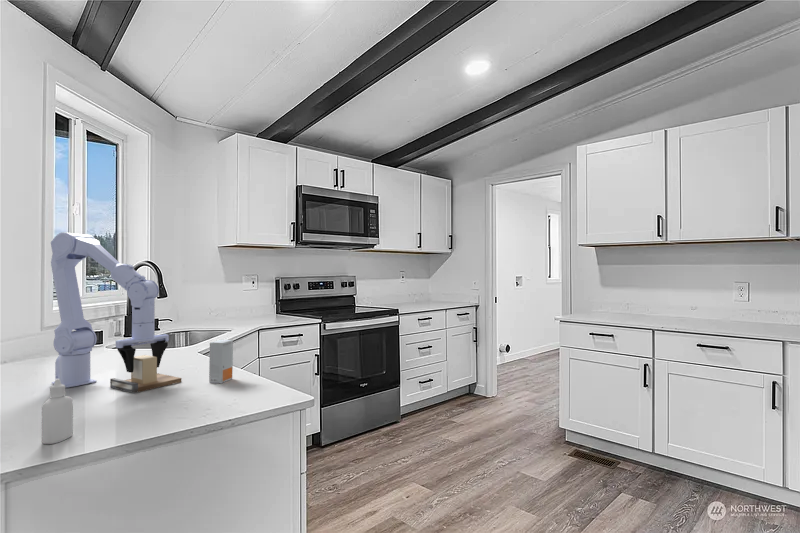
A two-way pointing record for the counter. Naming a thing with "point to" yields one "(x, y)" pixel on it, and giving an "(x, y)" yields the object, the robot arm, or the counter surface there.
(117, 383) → the tan tray
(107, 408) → the counter surface
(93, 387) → the counter surface
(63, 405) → the eye dropper bottle
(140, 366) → the box
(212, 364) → the skincare box
